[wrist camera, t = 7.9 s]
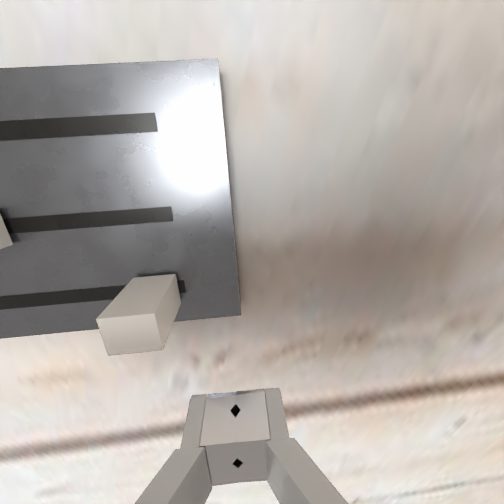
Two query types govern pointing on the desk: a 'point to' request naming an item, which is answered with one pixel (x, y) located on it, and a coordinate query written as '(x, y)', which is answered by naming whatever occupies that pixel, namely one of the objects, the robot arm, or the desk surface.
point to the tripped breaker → (140, 315)
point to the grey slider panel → (113, 191)
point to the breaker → (4, 235)
